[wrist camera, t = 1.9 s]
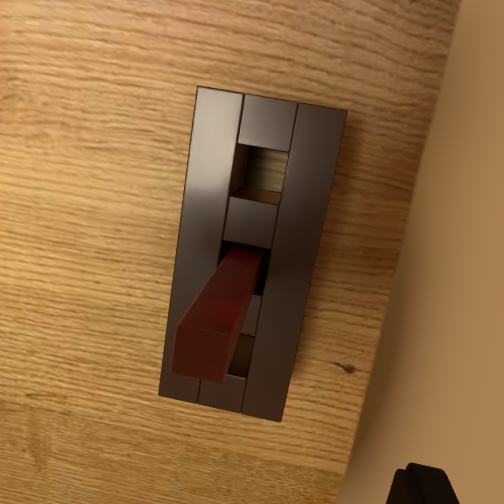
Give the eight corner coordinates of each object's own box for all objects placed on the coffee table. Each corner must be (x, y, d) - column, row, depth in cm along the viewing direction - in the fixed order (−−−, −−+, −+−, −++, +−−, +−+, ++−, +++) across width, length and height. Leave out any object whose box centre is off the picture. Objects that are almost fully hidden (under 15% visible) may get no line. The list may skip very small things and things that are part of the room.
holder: (338, 117, 23) (348, 110, 19) (284, 374, 27) (281, 423, 23) (218, 97, 24) (196, 85, 19) (182, 353, 28) (157, 396, 23)
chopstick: (269, 235, 25) (231, 335, 12) (264, 260, 26) (222, 386, 12) (242, 230, 26) (175, 324, 12) (238, 256, 26) (169, 374, 12)
